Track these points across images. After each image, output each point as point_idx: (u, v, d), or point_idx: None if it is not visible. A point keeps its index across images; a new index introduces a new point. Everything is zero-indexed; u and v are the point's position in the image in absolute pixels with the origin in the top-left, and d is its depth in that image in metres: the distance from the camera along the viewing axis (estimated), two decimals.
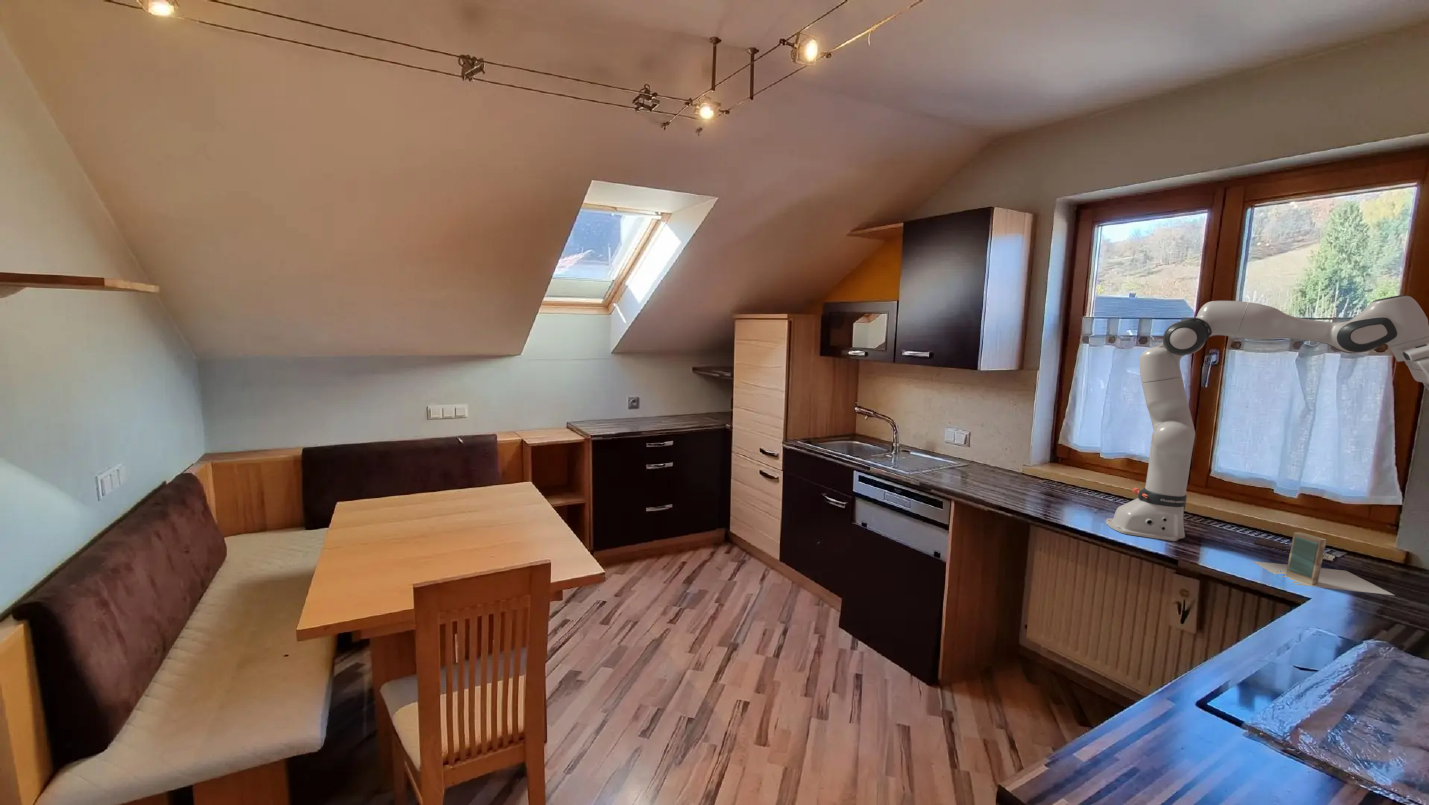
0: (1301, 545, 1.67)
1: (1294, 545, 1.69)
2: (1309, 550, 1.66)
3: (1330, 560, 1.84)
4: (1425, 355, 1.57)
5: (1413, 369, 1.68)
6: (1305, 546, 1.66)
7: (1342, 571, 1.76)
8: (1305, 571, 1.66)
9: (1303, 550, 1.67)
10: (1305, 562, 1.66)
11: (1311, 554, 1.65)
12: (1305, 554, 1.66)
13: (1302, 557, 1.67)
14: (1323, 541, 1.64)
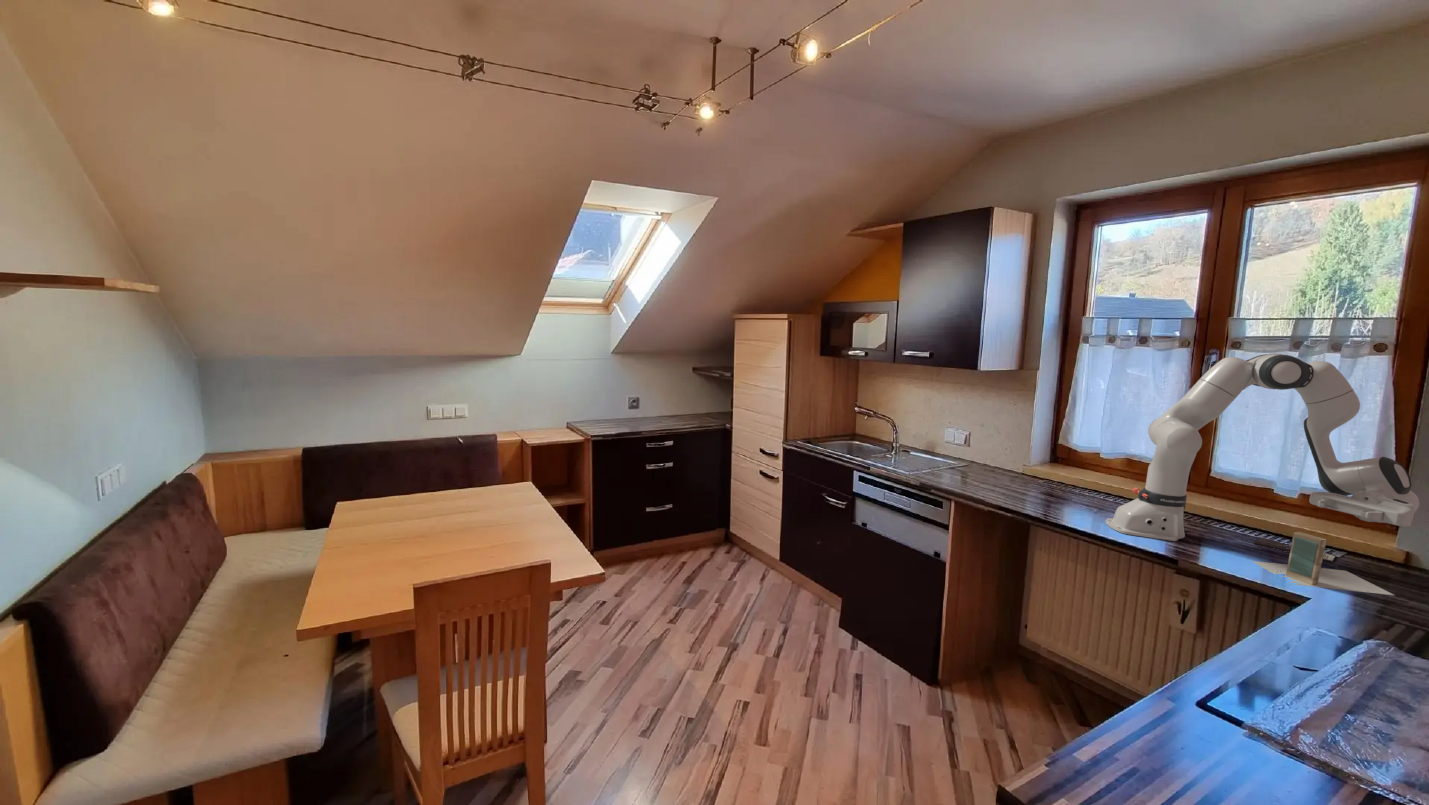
0: (1301, 545, 1.67)
1: (1294, 545, 1.69)
2: (1309, 550, 1.66)
3: (1330, 560, 1.84)
4: (1411, 514, 1.65)
5: (1339, 496, 1.76)
6: (1305, 546, 1.66)
7: (1342, 571, 1.76)
8: (1305, 571, 1.66)
9: (1303, 550, 1.67)
10: (1305, 562, 1.66)
11: (1311, 554, 1.65)
12: (1305, 554, 1.66)
13: (1302, 557, 1.67)
14: (1323, 541, 1.64)
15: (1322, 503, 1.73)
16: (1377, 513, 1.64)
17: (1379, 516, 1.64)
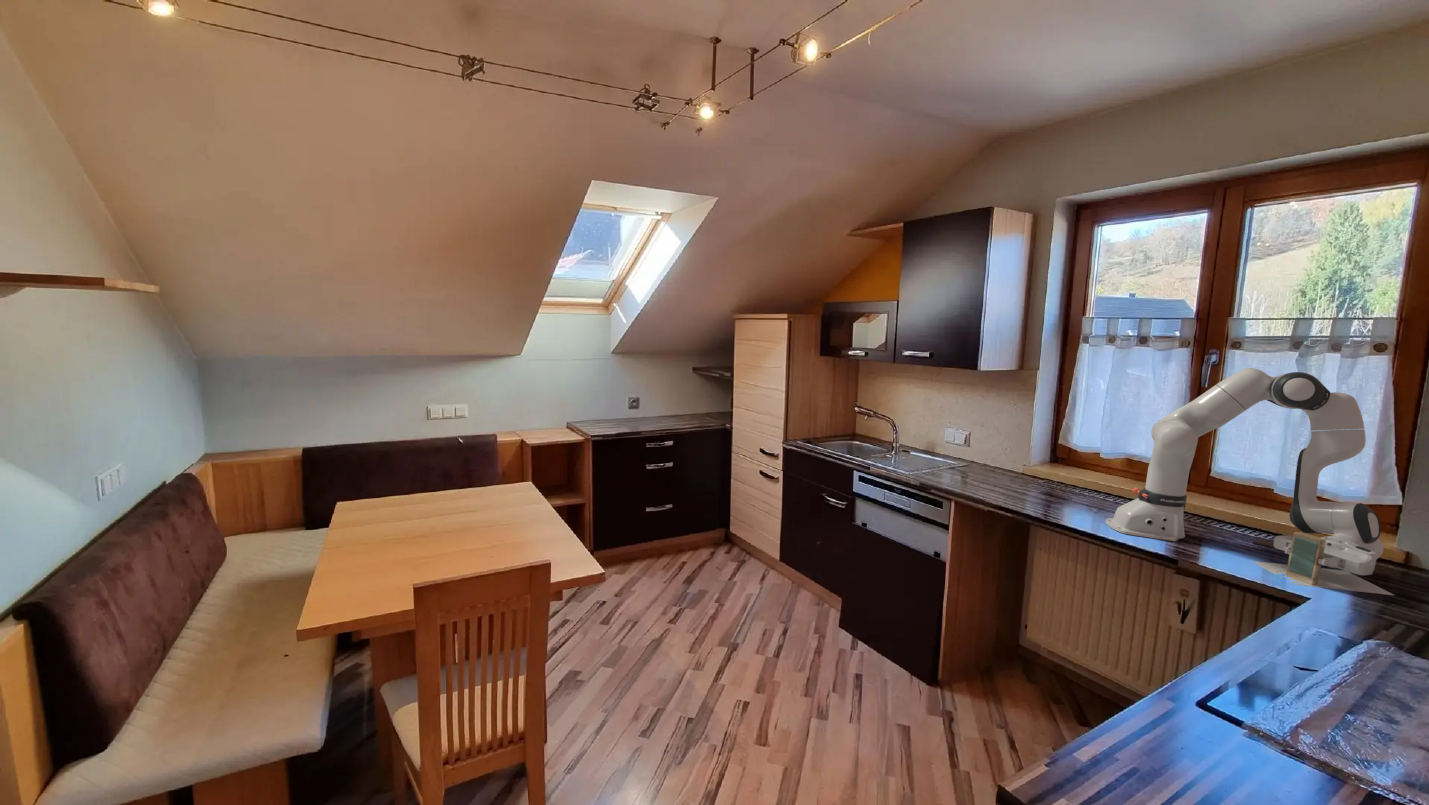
0: (1301, 545, 1.67)
1: (1294, 545, 1.69)
2: (1308, 550, 1.66)
3: None
4: (1373, 562, 1.63)
5: None
6: (1305, 546, 1.66)
7: (1342, 571, 1.76)
8: (1305, 571, 1.66)
9: (1303, 550, 1.67)
10: (1304, 562, 1.66)
11: (1311, 554, 1.65)
12: (1305, 554, 1.66)
13: (1302, 557, 1.67)
14: (1323, 541, 1.64)
15: (1289, 550, 1.70)
16: (1334, 560, 1.63)
17: (1336, 563, 1.63)
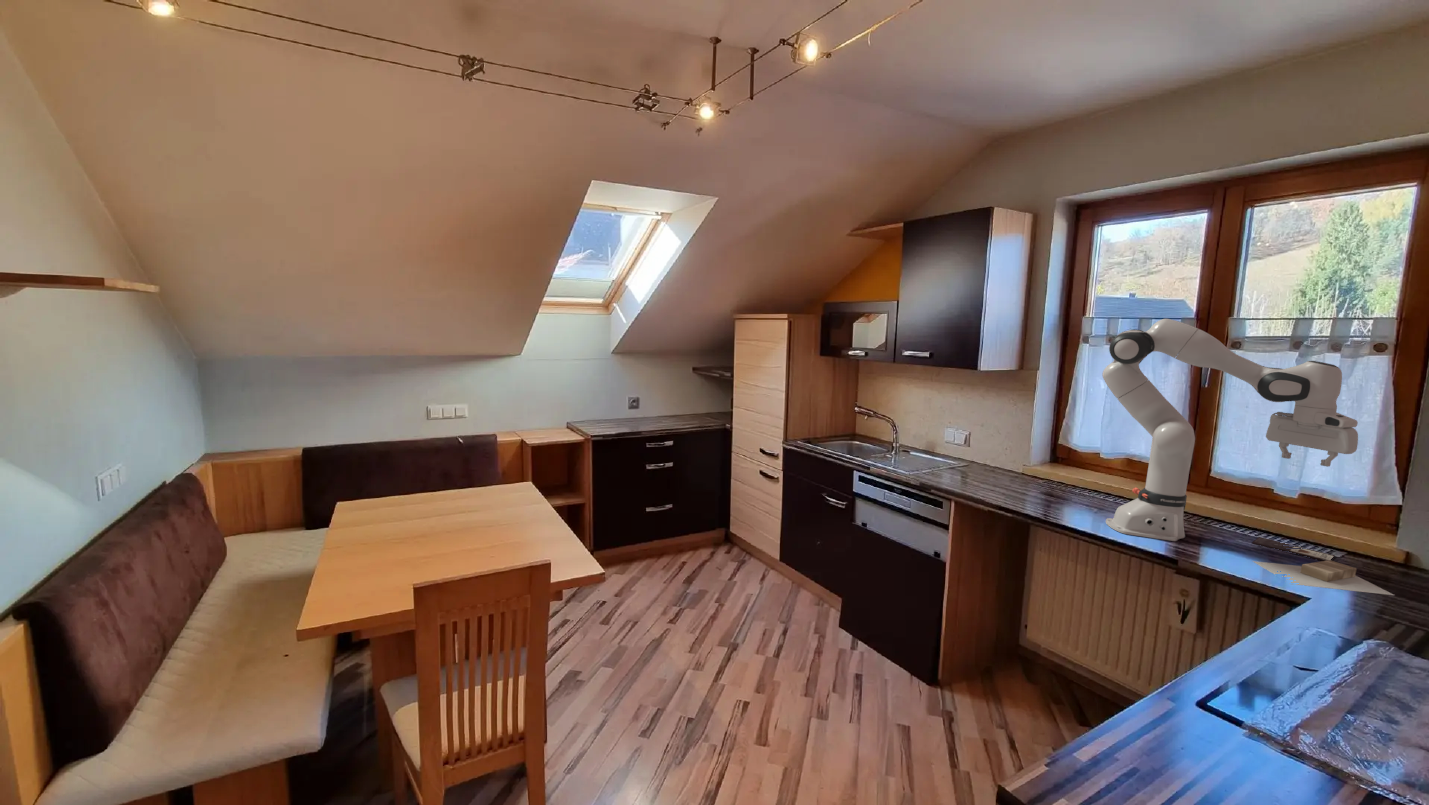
0: None
1: None
2: None
3: None
4: (1350, 426, 1.69)
5: (1287, 430, 1.82)
6: None
7: None
8: None
9: None
10: None
11: None
12: None
13: None
14: (1328, 577, 1.68)
15: None
16: (1331, 457, 1.72)
17: (1334, 456, 1.72)
